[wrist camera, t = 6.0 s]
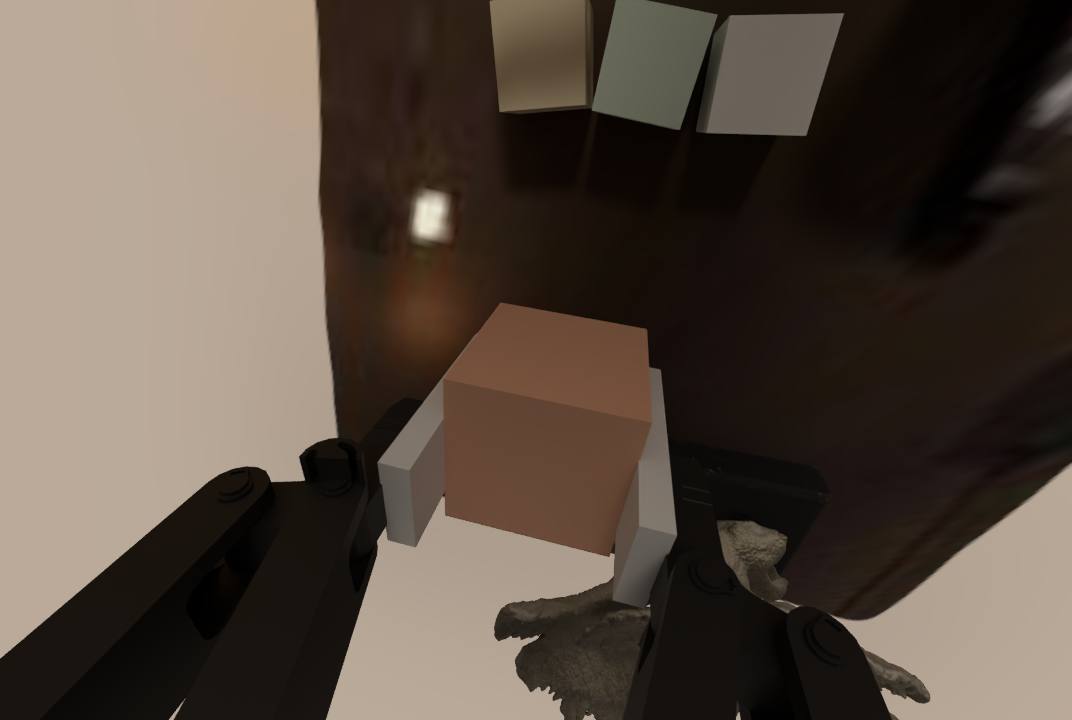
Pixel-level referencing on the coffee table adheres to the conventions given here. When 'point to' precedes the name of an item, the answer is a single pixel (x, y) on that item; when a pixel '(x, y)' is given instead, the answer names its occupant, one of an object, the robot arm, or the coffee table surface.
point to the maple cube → (543, 54)
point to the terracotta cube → (546, 425)
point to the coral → (616, 628)
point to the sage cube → (652, 62)
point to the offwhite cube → (766, 73)
